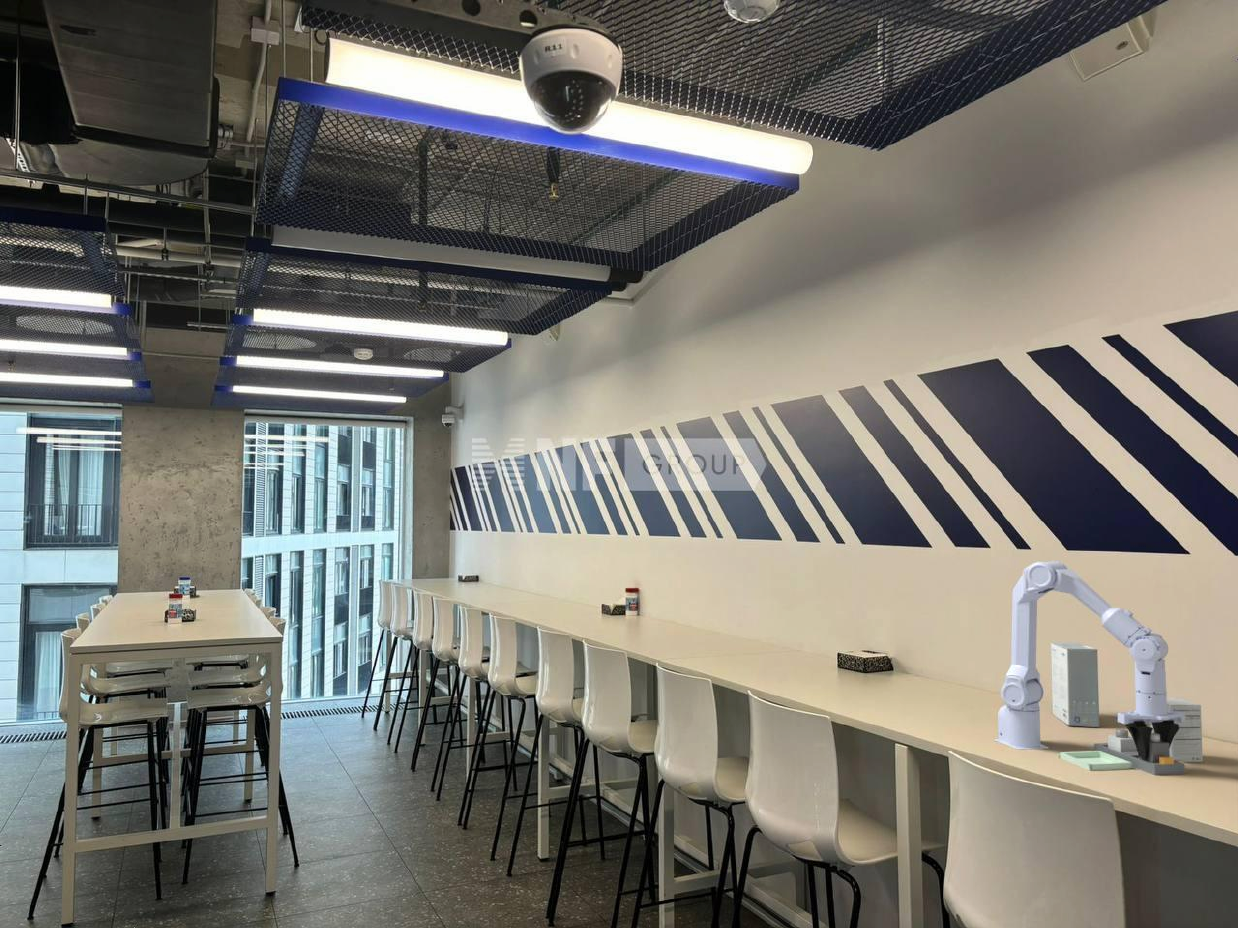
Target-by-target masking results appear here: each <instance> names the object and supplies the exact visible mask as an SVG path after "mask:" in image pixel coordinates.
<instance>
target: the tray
mask: <svg viewBox="0 0 1238 928" xmlns="http://www.w3.org/2000/svg"><path fill="white" fill-rule="evenodd" d="M1058 759H1060V760H1062V761H1065V762H1067V763H1070V764H1072V765H1075V766H1078V767H1080V768H1082V769H1085V770H1087V771H1110V770H1111V771H1112V770H1113V771H1115V770H1133V769H1134V767H1133V765H1132V762H1129V761H1126V760H1124V759H1121V758H1118V757H1115V756H1113V755H1110V754H1107V753H1104V752H1102V751H1094V750H1087V751H1086V750H1085V751H1084V750H1082V751H1064V752H1063V751H1061V752H1058Z"/></svg>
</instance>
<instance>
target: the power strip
mask: <svg viewBox="0 0 1238 928" xmlns="http://www.w3.org/2000/svg"><path fill="white" fill-rule="evenodd" d="M1093 749H1094V750H1093V751H1102V752H1104V753H1107V754H1110V755H1113V756H1115V757H1118V758H1121V759H1124V760H1126V761H1129V762H1132V765H1133V769H1136V770H1140V771H1142V772H1145V773H1148V774H1151V775H1153V776H1165V775H1166V776H1167V775H1185V774H1186V773H1185V772H1186V769H1185V767H1186V766H1185V762H1182V761H1179V760H1174V758H1172V757H1159V763H1150V762H1147V761H1144V760H1141V759H1139V755H1138V752H1137V751H1133V752H1119V751H1116V750H1113V749H1110V748H1108V742H1107V743H1106V742H1105V743H1104V742H1103V743H1093Z"/></svg>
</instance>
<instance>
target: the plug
mask: <svg viewBox="0 0 1238 928" xmlns="http://www.w3.org/2000/svg"><path fill="white" fill-rule="evenodd" d="M1159 757H1170V752H1169V743H1167V742H1164V741H1161V740H1160V734H1158V733H1152V732H1151V736H1150V742H1149V757H1148V759H1144V758H1142V757H1139V759H1141V760H1144V761H1147V762H1150V763H1159Z"/></svg>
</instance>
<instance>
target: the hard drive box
mask: <svg viewBox="0 0 1238 928" xmlns="http://www.w3.org/2000/svg"><path fill="white" fill-rule="evenodd" d="M1050 649H1051V650H1050V654H1051V656H1050V657H1051V660H1050V662H1051V693H1052V694H1051V697H1052V715H1054V716H1055V717H1056V718H1058V719H1059V720H1060V721H1061V722H1063V723H1064V724H1065V725H1067V726H1071V727H1072V726H1073V727H1089V728H1090V727H1091V728H1100V705H1099V704H1100V703H1099V702H1100V701H1099V700H1100V699H1099V697H1100V696H1099V665H1098V663H1099V662H1098V649H1096V648H1094V647H1092V646H1088V645H1086V644H1083V643H1080V642H1065V641H1064V642H1063V641H1062V642H1061V641H1051V643H1050Z"/></svg>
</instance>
